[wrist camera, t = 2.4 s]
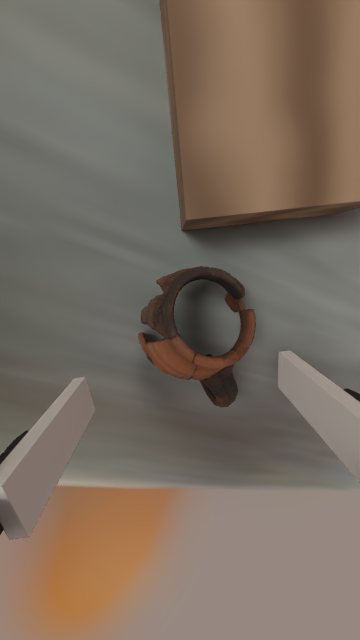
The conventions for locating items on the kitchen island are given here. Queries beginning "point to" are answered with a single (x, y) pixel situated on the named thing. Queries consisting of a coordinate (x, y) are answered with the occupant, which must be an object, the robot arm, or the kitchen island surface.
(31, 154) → the kitchen island surface
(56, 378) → the kitchen island surface
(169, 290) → the brown piece
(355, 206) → the walnut riser block
